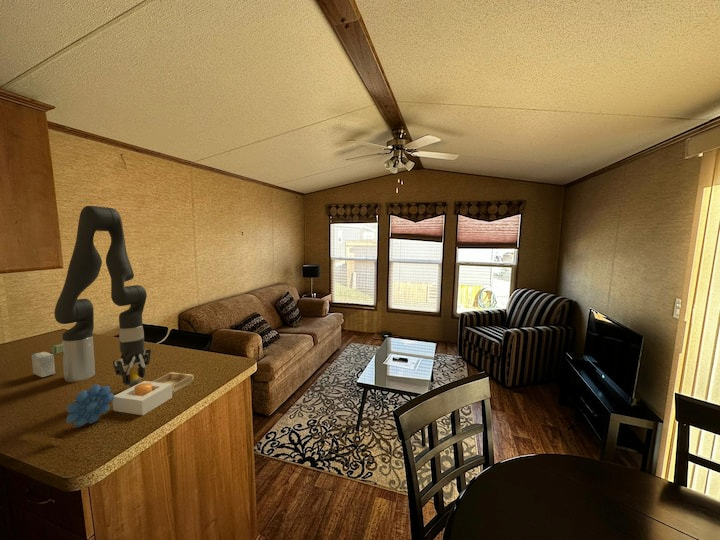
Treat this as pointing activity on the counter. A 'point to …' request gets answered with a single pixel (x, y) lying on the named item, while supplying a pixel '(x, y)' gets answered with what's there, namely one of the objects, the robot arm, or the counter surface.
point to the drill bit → (133, 378)
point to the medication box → (57, 348)
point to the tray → (176, 380)
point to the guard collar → (142, 399)
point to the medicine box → (43, 364)
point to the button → (143, 389)
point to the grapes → (89, 405)
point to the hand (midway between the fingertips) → (134, 380)
